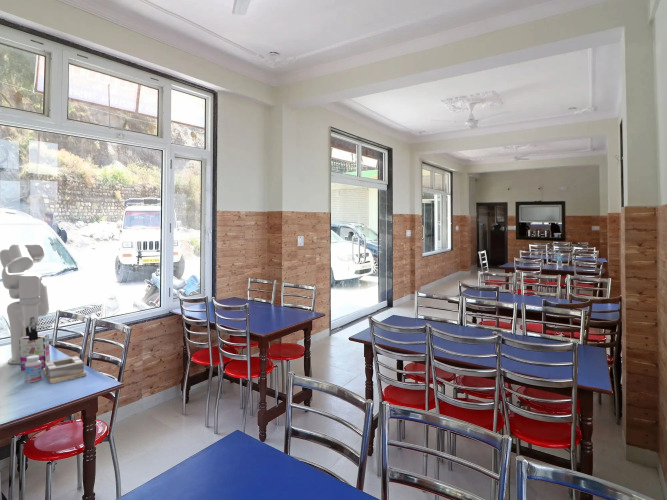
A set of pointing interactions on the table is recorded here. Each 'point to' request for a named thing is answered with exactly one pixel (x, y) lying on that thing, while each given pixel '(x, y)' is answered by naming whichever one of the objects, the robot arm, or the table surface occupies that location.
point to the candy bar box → (34, 349)
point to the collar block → (64, 369)
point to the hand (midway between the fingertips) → (31, 337)
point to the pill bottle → (33, 369)
